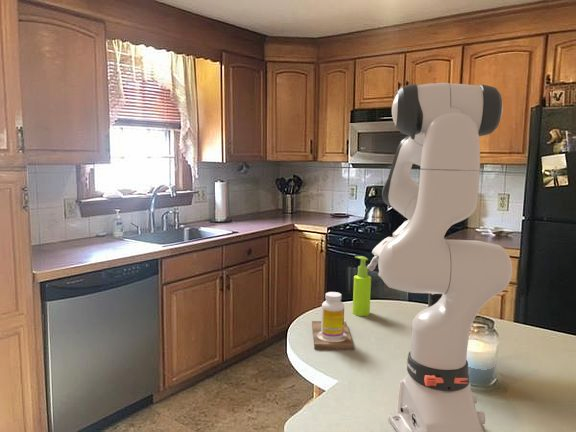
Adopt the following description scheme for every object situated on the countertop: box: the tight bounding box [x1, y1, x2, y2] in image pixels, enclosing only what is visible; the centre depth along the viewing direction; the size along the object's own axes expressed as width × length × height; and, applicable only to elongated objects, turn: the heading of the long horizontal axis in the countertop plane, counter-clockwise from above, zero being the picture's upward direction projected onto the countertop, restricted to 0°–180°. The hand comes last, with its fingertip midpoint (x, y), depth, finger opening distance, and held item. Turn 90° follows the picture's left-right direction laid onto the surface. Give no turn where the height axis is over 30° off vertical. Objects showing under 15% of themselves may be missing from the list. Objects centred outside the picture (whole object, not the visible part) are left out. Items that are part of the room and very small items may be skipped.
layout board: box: [311, 320, 354, 351], centre depth 141 cm, size 18×11×6 cm, turn 179°
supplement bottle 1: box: [321, 291, 345, 339], centre depth 138 cm, size 7×7×13 cm
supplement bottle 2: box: [427, 293, 443, 308], centre depth 159 cm, size 7×7×12 cm
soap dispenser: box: [352, 255, 372, 317], centre depth 162 cm, size 6×7×20 cm
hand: (374, 273), depth 138 cm, fingers open, 8 cm apart
